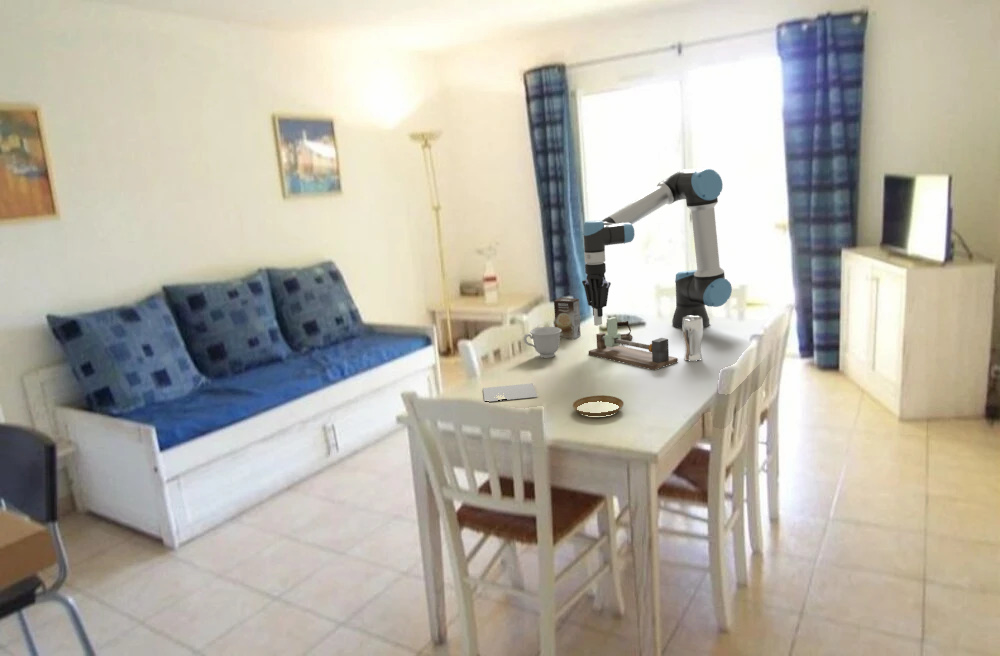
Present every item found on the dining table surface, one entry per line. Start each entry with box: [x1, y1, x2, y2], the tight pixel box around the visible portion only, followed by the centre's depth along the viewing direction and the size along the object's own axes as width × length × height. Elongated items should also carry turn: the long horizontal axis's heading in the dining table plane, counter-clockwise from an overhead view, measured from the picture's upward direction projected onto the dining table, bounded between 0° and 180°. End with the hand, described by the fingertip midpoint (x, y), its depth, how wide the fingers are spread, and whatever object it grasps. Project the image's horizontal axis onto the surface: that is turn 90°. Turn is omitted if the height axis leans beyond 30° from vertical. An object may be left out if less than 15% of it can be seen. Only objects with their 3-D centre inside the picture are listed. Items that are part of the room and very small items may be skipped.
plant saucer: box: [572, 394, 624, 416], centre depth 199 cm, size 15×15×3 cm
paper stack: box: [482, 383, 538, 403], centre depth 226 cm, size 23×25×1 cm
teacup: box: [523, 326, 562, 359], centre depth 259 cm, size 12×15×10 cm
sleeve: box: [604, 316, 622, 347], centre depth 253 cm, size 5×4×10 cm
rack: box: [588, 332, 679, 371], centre depth 247 cm, size 12×32×9 cm, turn 37°
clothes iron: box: [606, 320, 633, 342], centre depth 273 cm, size 7×11×10 cm, turn 75°
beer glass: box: [681, 316, 704, 362], centre depth 239 cm, size 7×7×15 cm
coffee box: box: [553, 297, 581, 340], centre depth 284 cm, size 9×6×16 cm
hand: (598, 324), depth 259 cm, fingers closed
